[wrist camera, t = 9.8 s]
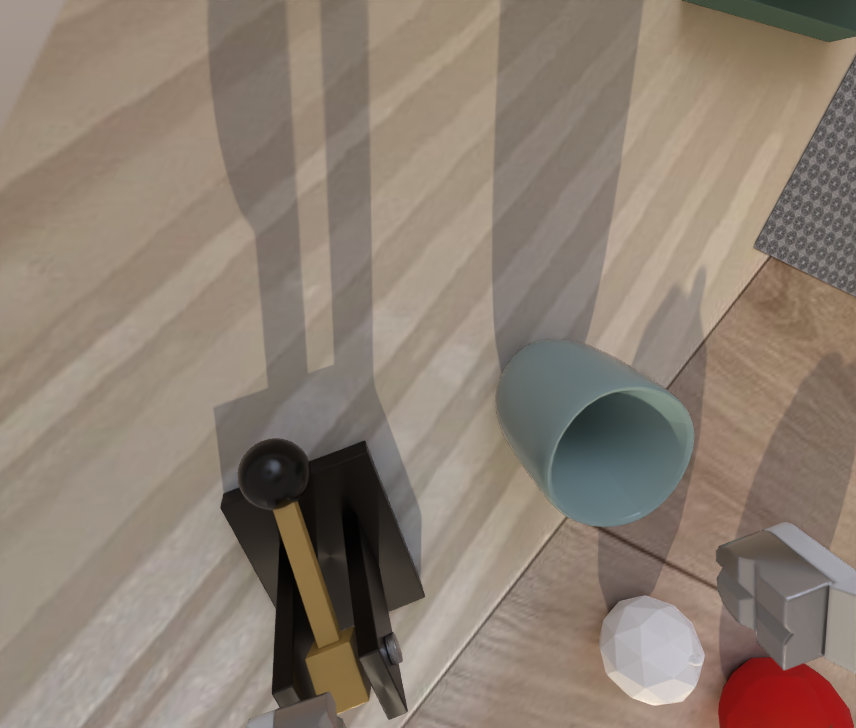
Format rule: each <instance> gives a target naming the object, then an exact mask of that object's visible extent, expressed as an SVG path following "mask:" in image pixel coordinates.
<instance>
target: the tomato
mask: <svg viewBox="0 0 856 728" xmlns="http://www.w3.org/2000/svg"><path fill="white" fill-rule="evenodd" d="M718 715H719V724H720V728H854V725H853V721H852V717H851V714H850V710H849V708H848V707H847V705H846V704H845V703H844V701H843V700H842V699H841V697H840V696H839V695H838V693H837V692H836V690H835V689H834V688H833V686H832V685H831V684H830V682H829V681H827V680H826V679H825V678H824V677H823V676H821V675H820V674H819V673H818V672H816V671H815V670H813V669H812V668H810V667H809V666H807V665H806V664H804V663H803V664H800V665H798V666H795V667H792V668H790V669H787V670H783V669H782V668H781V667H780V666H779V665H778V664H777V663H776V662H775V661H774V660H773V659H772V658H771V657H766V658H750V659H749V660H748V661H747V662H746V663H744V664H743V665H742V666H741V667H739V668H738V669H737V670H736V671H735V672H733V673H732V675H731V676H730V678H729V680H728V681H727V683H726V684H725V686H724V688H723V691H722V695H721V698H720V702H719V710H718Z"/></svg>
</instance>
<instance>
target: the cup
mask: <svg viewBox="0 0 856 728" xmlns="http://www.w3.org/2000/svg"><path fill="white" fill-rule="evenodd" d="M496 414H497V418H498V421H499V424H500V428H501V430H502V433H503V435H504V437H505V439H506V441H507V442H508V444H509V446H510V447H511V449H512V450H513V452H514V454H515V455H516V457H517V458H518V460H519V461H520V463H521V464H522V466H523V467H524V469H525V470H526V471H527V473H528V474H529V476H530V477H531V478H532V480H533V481H534V483H535V484H536V485H537V487H538V488H539V489H540V491H541V492H542V493H543V495H544V496H545V497H546V498H547V500H548V501H549V502H550V503H551V504H552V505H553V506H554V507H555V508H556V509H557V510H559V511H560V512H561V513H562V514H563V515H565V516H567V517H568V518H570V519H572V520H574V521H576V522H579V523H583V524H586V525H591V526H600V527H610V526H619V525H624V524H628V523H631V522H634V521H636V520H638V519H641V518H643V517H645V516H646V515H648V514H649V513H651V512H652V511H654V510H655V509H656V508H657V507H658V506H660V505H661V504H662V503H663V502H664V501H665V500H666V499H667V498H668V496H669V495H670V494H671V493H672V492H673V490H674V489H675V488H676V486H677V485H678V483H679V481H680V480H681V478H682V477H683V475H684V473H685V470H686V468H687V466H688V464H689V461H690V458H691V454H692V451H693V444H694V429H693V421H692V419H691V417H690V414H689V412H688V410H687V409H686V407H685V406H684V405H683V404H682V403H681V401H680V400H679V399H678V398H677V397H676V396H675V395H673V394H672V393H671V392H669V391H668V390H667V389H665V388H664V387H663V386H661V385H660V384H658V383H657V382H655V381H654V380H652V379H651V378H649V377H647V376H646V375H644V374H643V373H641V372H639V371H638V370H636V369H635V368H633V367H631V366H630V365H628V364H626V363H625V362H623V361H621V360H619V359H618V358H616V357H614V356H612V355H610V354H608V353H606V352H604V351H601V350H599V349H597V348H595V347H592V346H590V345H587V344H584V343H581V342H577V341H573V340H568V339H554V338H553V339H544V340H539V341H536V342H533V343H531V344H529V345H527V346H525V347H524V348H522V349H521V350H520V351H518V352H517V353H516V354H515V355H514V356H513V357H512V359H511V360H510V361H509V363H508V364H507V365H506V367H505V369H504V371H503V373H502V375H501V377H500V380H499V383H498V386H497V391H496Z"/></svg>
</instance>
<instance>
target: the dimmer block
mask: <svg viewBox="0 0 856 728" xmlns="http://www.w3.org/2000/svg"><path fill="white" fill-rule="evenodd" d="M683 1H687V2H690V3H694V4H697V5H701V6H704V7H708V8H711V9H715V10H718V11H722V12H725V13H729V14H732V15H736V16H739V17H743V18H746V19H750V20H753V21H757V22H760V23H764V24H767V25H771V26H774V27H778V28H781V29H785V30H788V31H792V32H795V33H799V34H802V35H806V36H809V37H813V38H817V39H820V40H824V41H827V42H832V41H837V40H841V39H846V38H850V37H855V36H856V0H683Z"/></svg>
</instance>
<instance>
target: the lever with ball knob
mask: <svg viewBox="0 0 856 728" xmlns="http://www.w3.org/2000/svg"><path fill="white" fill-rule="evenodd" d="M310 479H311V466H310V462H309V460H308V457H307V455H306V454H305V452H304V451H303V450H302V449H301V448H300V447H299V446H298V445H296V444H295V443H293V442H291V441H288V440H285V439H279V438H273V439H267V440H264V441H261V442H259V443H257V444H255V445H254V446H253V447H251V448H250V449H249V450H248V451H247V452H246V454H245V455H244V456H243V458H242V460H241V462H240V465H239V468H238V484H239V488H240V490H241V492H242V494H243V496H244V497H245V498H246V499H247V500H248V501H249V502H250V503H251V504H252V505H254V506H256V507H258V508H261V509H264V510H270V511H273V512H274V515H275V518H276V521H277V524H278V527H279V530H280V533H281V537H282V540H283V543H284V546H285V549H286V552H287V555H288V558H289V561H290V564H291V567H292V570H293V573H294V576H295V579H296V582H297V585H298V588H299V592H300V595H301V598H302V601H303V604H304V607H305V610H306V613H307V616H308V619H309V622H310V625H311V628H312V631H313V634H314V637H315V640H316V642H314V643H313V644H312V646H311V649H310V651H309V653H308V655H307V657H306V659H305V661H306V665H307V668H308V671H309V674H310V677H311V680H312V683H313V686H314V689H315V692H316V695H319V694H322V693H325V692H331V694H332V697H333V699H334V701H335V703H336V713H337V714H340V713H342V712H344V711H347V710H349V709H352V708H354V707H356V706H359V705H361V704H363V703H366V702H368V701H369V698H370V691H371V683H370V681H369V679H368V677H367V675H366V673H365V671H364V669H363V667H362V665H361V663H360V661H359V659H358V652H357V644H356V636H355V628H354V626H353V627H350V628H348V629H345V630H343V631H341V630H340V627H339V624H338V621H337V618H336V615H335V612H334V609H333V606H332V603H331V600H330V597H329V594H328V591H327V588H326V585H325V582H324V579H323V576H322V573H321V570H320V567H319V564H318V561H317V558H316V555H315V552H314V549H313V546H312V543H311V540H310V537H309V534H308V531H307V528H306V525H305V522H304V519H303V516H302V513H301V510H300V507H299V504H298V500H299V499H300V498H301V497H302V496H303V495H304V493H305V492H306V490H307V488H308V486H309V483H310Z"/></svg>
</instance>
